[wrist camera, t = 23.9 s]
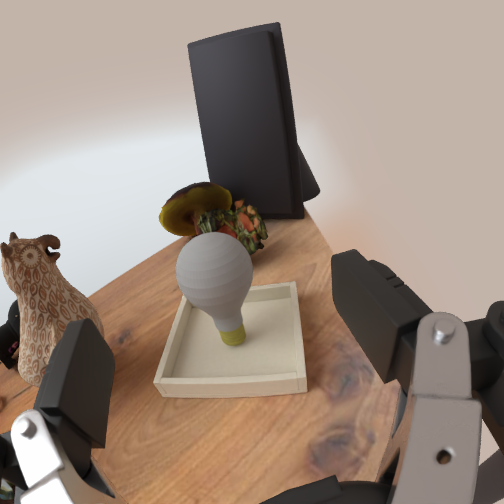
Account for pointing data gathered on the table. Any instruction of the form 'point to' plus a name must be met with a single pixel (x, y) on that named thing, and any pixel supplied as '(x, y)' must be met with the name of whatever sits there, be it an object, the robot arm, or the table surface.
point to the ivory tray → (237, 350)
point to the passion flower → (6, 490)
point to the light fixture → (251, 121)
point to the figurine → (41, 301)
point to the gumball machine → (10, 336)
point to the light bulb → (217, 280)
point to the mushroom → (212, 215)
